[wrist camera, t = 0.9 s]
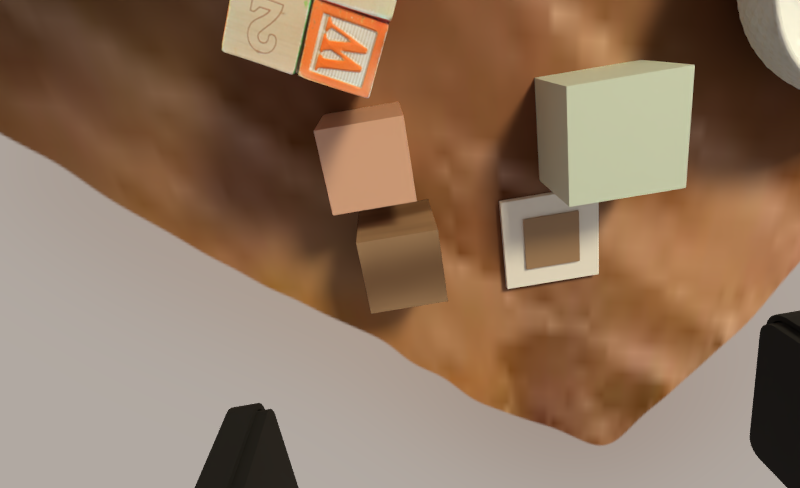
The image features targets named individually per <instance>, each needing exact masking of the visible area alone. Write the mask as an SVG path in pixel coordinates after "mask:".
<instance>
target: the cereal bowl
mask: <svg viewBox="0 0 800 488" xmlns="http://www.w3.org/2000/svg"><path fill="white" fill-rule="evenodd" d="M737 3H738V6H737V8H738V11H739V14H740V15H739V18H740V20H741V23H742V26H743V28H744V33H745V35H746V36H747V38H748V42H749V43H750V46H751V47H752V48H753V49H754V51H755V53H756V55H757V56H758V57H759V58H760V59H761V60H762V61H763V63H764V64H765V66H766V67H767V68H769V69H770V70H771V71H772V72H773V73H774V74H776V75H777V76H778V77H780V78H781V79H782V80H784V81H785V82H786V83H788V84H791V85H792V86H794V87H795V88H797V89H800V0H737Z"/></svg>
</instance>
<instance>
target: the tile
mask: <svg viewBox="0 0 800 488" xmlns="http://www.w3.org/2000/svg"><path fill="white" fill-rule="evenodd" d="M499 209H500V221H501V232H502V244H503V256H504V268H505V279H506V287H507V289H511V288H517V287H523V286H529V285H535V284H541V283H548V282H554V281H560V280H566V279H572V278H578V277H584V276H590V275H596V274H599V202H597V203H591V204H585V205H579V206H572V207H569V206H568V205H567V204H565V203H564V202H563V201H562V200H561V199H560V198H559V197H558V196H556V195H555V194H554V193H553V192H549V193H543V194H537V195H531V196H525V197H519V198H513V199H507V200H502V201H499Z"/></svg>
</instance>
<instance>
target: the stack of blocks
mask: <svg viewBox="0 0 800 488" xmlns="http://www.w3.org/2000/svg"><path fill="white" fill-rule="evenodd" d="M396 1H397V0H229V6H228V11H227V17H226V22H225V28H224V33H223V39H222V51H223V52H225V53H228V54H231V55H235V56H238V57H241V58H244V59H247V60H250V61H252V62H255V63H258V64H261V65H264V66H267V67H270V68H273V69H276V70H279V71H282V72H285V73H288V74H291V75H293V74H295V73H296V74H298V75H299V76H300V77H302V78H305V79H308V80H310V81H314V82H317V83H320V84H323V85H326V86H329V87H332V88H335V89H338V90H341V91H344V92H347V93H351V94H354V95H357V96H360V97H364V98H369V96H370V93H371V89H372V86H373V82H374V78H375V75H376V71H377V67H378V63H379V60H380V56H381V53H382V49H383V45H384V42H385V38H386V35H387V31H388V25H389V22H390V21H391V20H392V16H393V13H394V9H395V5H396Z"/></svg>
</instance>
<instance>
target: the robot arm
mask: <svg viewBox="0 0 800 488" xmlns="http://www.w3.org/2000/svg"><path fill="white" fill-rule="evenodd" d="M750 442H751V446H752V448H753V450H754V452H755V454H756V455H757V456H758V458H759V459H760V460H761V461H762V462H763V463H764V464H765V465H766V466H767V467H768V468H769V469H770V470H771V471H772V472H773V473H774V474H775V475H776V476H777V477H778V478H779V479H780V481H781V482H782V483H783V484H784V485H785V486H786V487H787V488H800V311H795V312H789V313H783V314H778V315H774V316H771V317H770V318H769V320H768V321H767V324H766V325H764V326H763V327H762V328H761V331H760V339H759V348H758V358H757V369H756V379H755V388H754V398H753V408H752V418H751V428H750ZM195 488H298V485H297V482H296V479H295V476H294V472H293V469H292V466H291V463H290V460H289V457H288V454H287V451H286V447H285V445H284V441H283V438H282V435H281V432H280V429H279V426H278V422H277V419H276V416H275V413H274V411H273V410H272V409H268V410H265V409H264V407H263V406H262V404H260V403H257V404H251V405H245V406H239V407H234V408H231V409H229V410H228V412H227V414H226V416H225V418H224V421H223V423H222V425H221V428H220V430H219V433H218V435H217V437H216V440H215V442H214V444H213V447H212V449H211V451H210V453H209V456H208V458H207V460H206V463H205V465H204V467H203V470H202V472H201V475H200V477H199V479H198V481H197V484H196V486H195Z"/></svg>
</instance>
